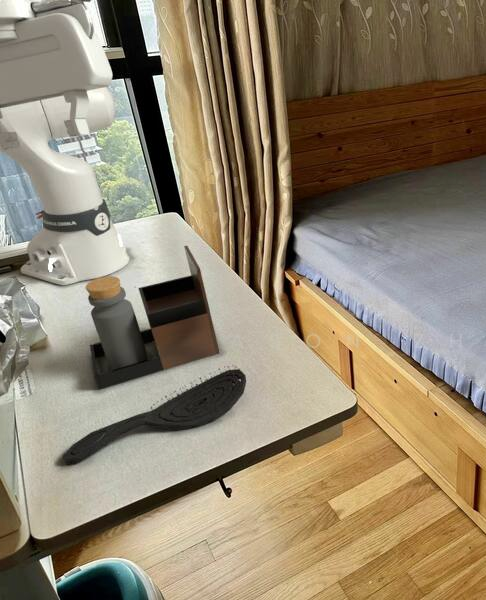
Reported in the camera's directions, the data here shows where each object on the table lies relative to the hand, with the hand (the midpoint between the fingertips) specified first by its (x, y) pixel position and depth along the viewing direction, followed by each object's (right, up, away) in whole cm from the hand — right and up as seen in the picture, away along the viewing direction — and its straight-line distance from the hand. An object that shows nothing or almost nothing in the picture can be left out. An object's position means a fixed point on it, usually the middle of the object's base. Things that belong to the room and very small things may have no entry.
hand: (44, 142), depth 63 cm
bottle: (-3, -29, +26) cm, 39 cm away
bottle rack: (+1, -28, +28) cm, 39 cm away
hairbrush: (+8, -36, +14) cm, 39 cm away
